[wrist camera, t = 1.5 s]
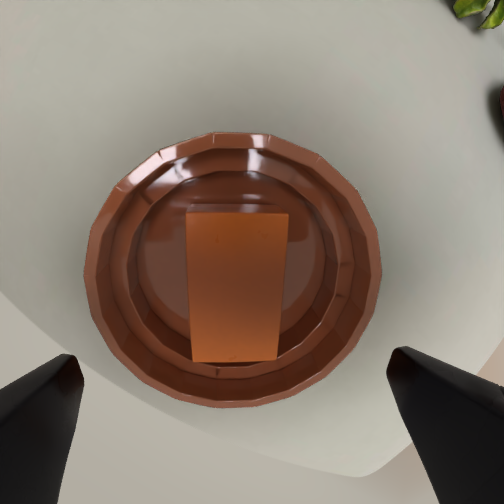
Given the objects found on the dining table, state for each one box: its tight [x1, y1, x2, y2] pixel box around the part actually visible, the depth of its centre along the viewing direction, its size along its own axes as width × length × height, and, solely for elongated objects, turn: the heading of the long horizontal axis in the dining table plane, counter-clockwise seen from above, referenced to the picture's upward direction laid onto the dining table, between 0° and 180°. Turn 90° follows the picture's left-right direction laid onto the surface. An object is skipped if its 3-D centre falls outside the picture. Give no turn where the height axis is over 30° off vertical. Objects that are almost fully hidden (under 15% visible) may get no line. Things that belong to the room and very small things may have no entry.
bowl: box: [84, 132, 382, 408], centre depth 14 cm, size 13×13×4 cm
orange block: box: [185, 204, 289, 362], centre depth 14 cm, size 7×4×3 cm, turn 178°
